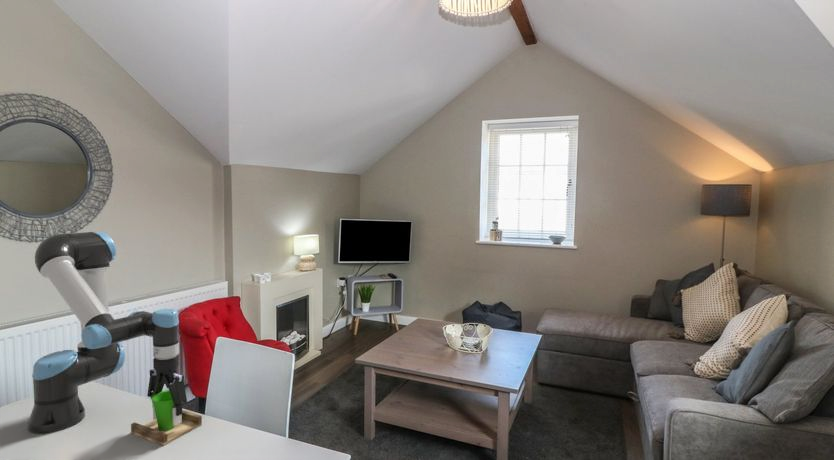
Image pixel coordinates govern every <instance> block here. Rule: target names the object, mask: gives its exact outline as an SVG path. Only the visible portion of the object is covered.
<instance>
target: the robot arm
mask: <svg viewBox="0 0 834 460" xmlns="http://www.w3.org/2000/svg"><path fill="white" fill-rule="evenodd" d="M116 255H117V247H116V244H115V242H114V240H113V239H112V237H111V236H110V235H109V234H108V233H105V232H102V231H87V232H86V231H85V232H74V233H73V232H71V233H58V234H57V233H56V234H54V235H50V236H49V237H46V238H45V239H43V240H42V241H41V242H40V243H39V245H38V246H37V247H36V250H35V253H34V263H35V267H36V269H37V271H38V272H39V273H40V275H41V276H42V277H43V278H45V279H48V280H49V281H50V282H51V284H52V285H53V286H54V288H55V289H56V290H57V292H58V294H59V295H60V296H61V298H62V299H63V300H64V301H65V303H66V304H67V306H68V307H69V308H70V310H71V312H72V313H73V314H74V315H75V317H76V319H78V321H79V322H80V330H81V331H80V332H81V333H80V336H81V340H80V342H79V343H77V347H76V348H77V351H75V350H73V349H64V350H60V351H53V352H51V353H48V354H46V355H44V356H42V357H40V358H38V359H37V360H36V361H35V363H34V364H33V367H32V375H31V376H32V380H33V381H32V383H33V401H34V403H33V407H32V410H31V412H30V416H29V418H28V421H27V429H28V431H29V432H31V433H34V434H46V433H53V432H59V431H62V430H64V429H65V430H66V429H68V428H70V427H72V426H75V425H77V424H78V423H80V422H81V421H83V419H84V418H85V417H86V409H85V407H84V405H83V402H82V401H81V398H80V396H79V389H78V388H79V386H82V385H85V384H87V383H90V382H93V381H96V380H100V379H102V378H107V377H109V376H111V375H113V374H116V373H117V372H119V371H120V370H121V369H122V367H123V366H124V363H125V361H126V360H125V359H126V350H125V348H124V347H123V346H124V345H123V344H122V342H124V341H129V340H132V339H136V338H139V337H143V336H144V337H145V336H146V337H150V338H152V350H153V351H152V352H153V353H152V354H153V359H152V363H153V365H152V366H153V367H152V369H149V383H148V387H147V395H146V396H147V397H148V398H150V399H151V398H152V396H153V395H155V394H157V393H160V392H162V391H163V389H164V386H166V388H167V389H168V390H169V391H170V394H171V397H172V400H173V403H174V406H173V426H176V425H178V424H180V423H182V410H183V406H184V405H186V404H188V399H187V393H186V387H185V375H184V373H182V374H180V373H178V371H177V368H178V367H179V366H180V355H179V353H180V342H179V341H180V340H179V339H180V332H179V331H180V330H179V325H180V324H179V323H180V321H179V312H178V310H176V309H175V308H160V309H156V310H154V311H153V312H150V311H149V312H148V311H145V310H140V311H139V310H137V311H133V312H131V313H130V314H129V315H127V316H124V317H120V318H114V317H113V316H112V315H111V313H110V310H109V299H108V298H109V297H108V289H107V277H106V271H107V270H108V269H109V268H110V263H111V262H113V261H114V260H115V258H116ZM151 401H152V400H151ZM177 402H178V403H177ZM152 418H153V420H155V419H156V414H155V409H154V405H153V401H152Z"/></svg>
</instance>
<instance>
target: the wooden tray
mask: <svg viewBox="0 0 834 460" xmlns="http://www.w3.org/2000/svg"><path fill="white" fill-rule="evenodd" d="M202 418H203V416H202V415H200V414H196V413H192V412H190V411H186V410H184V409H182V423H180V424H178V425H176V426H175V427H174V428H172V429H170V430H166V431H161V430H159V428H158V424H157V419H153V420H151V421H148V422H147V423H145V424H140V423H138V422H135V421H134V422H132V423H131V424H130V434H133V435H135V436H137V437H140V438H143V439H145V440H148V441H151V442H153V443H155V444H159V445H161V446H166V445H169V444H170V443H171V442H173V441H175V440H177V439H179V438H181V437H182V436H184V435H186V434H188V433H190V432H191V431H193V430H195V429H197V428H199V427H201V426H202V424H203V422H202V420H203V419H202Z"/></svg>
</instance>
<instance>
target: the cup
mask: <svg viewBox="0 0 834 460" xmlns="http://www.w3.org/2000/svg"><path fill="white" fill-rule="evenodd" d="M150 400H151V401H153V405H154V409H155V414H156V419H157V424H158V428H159V430H161V431H166V430H170V429H172V428H174V427H175V426H173V406H174V403H173V400H172V397H171V394H170V391H169V389H167V390H162V392H160V393H157V394H155V395H153V396H152V398H151V397H150ZM177 403H178V402H177Z"/></svg>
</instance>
